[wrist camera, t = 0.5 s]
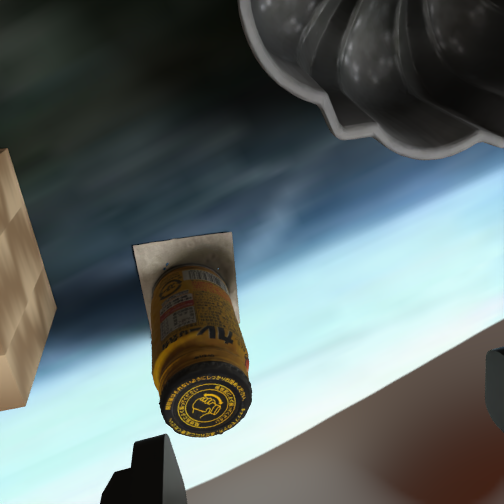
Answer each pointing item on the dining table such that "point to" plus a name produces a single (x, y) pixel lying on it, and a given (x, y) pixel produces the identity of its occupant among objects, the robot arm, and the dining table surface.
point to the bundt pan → (389, 67)
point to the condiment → (195, 333)
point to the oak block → (20, 294)
